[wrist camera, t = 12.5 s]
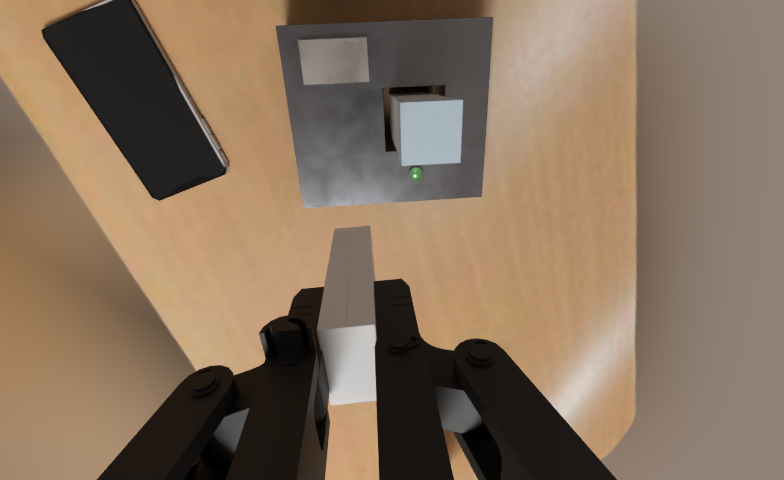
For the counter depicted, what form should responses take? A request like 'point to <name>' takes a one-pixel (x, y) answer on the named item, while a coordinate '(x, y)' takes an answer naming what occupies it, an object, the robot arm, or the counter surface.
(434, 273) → the counter surface
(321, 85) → the panel
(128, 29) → the smartphone
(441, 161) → the plug
